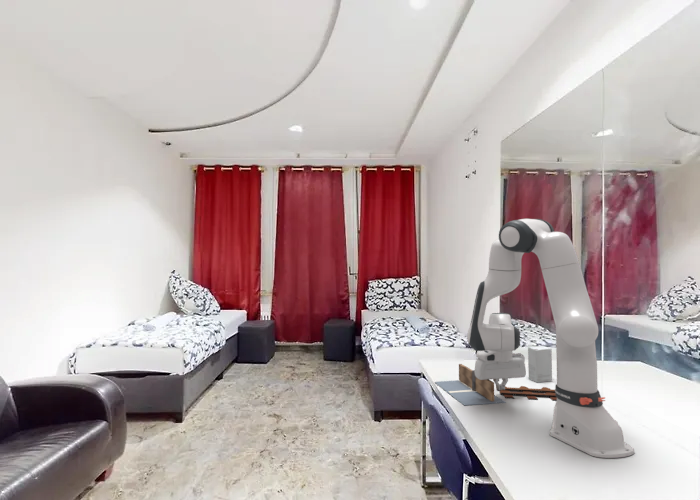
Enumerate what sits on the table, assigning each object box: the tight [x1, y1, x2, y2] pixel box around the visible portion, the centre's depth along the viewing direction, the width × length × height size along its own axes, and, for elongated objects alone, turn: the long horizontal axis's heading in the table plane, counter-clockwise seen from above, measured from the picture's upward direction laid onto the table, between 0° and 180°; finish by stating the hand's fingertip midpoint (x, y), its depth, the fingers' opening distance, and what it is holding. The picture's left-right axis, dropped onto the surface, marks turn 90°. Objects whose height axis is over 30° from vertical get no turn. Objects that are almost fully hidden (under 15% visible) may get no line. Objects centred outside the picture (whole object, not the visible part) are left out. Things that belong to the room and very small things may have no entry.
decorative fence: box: [499, 385, 557, 402], centre depth 159 cm, size 23×2×15 cm
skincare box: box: [527, 345, 553, 383], centre depth 175 cm, size 8×6×15 cm
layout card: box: [434, 379, 507, 407], centre depth 160 cm, size 28×17×1 cm, turn 10°
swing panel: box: [476, 377, 495, 401], centre depth 154 cm, size 12×1×7 cm, turn 10°
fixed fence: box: [458, 363, 476, 391], centre depth 167 cm, size 15×2×8 cm, turn 10°
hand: (500, 389), depth 152 cm, fingers closed
